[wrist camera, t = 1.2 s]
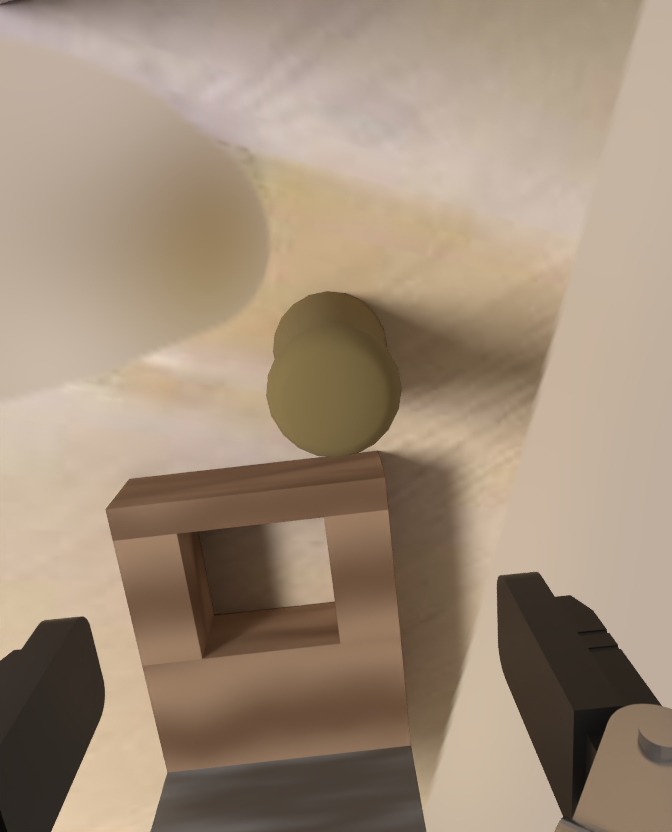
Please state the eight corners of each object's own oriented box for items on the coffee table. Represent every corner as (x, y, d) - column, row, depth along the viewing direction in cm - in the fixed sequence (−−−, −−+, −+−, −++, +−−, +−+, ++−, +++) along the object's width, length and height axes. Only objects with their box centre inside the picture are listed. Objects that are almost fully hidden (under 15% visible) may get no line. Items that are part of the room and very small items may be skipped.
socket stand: (128, 479, 35) (-149, 834, 14) (377, 450, 35) (463, 766, 14) (187, 745, 40) (47, 1290, 19) (404, 721, 40) (495, 1243, 19)
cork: (288, 277, 32) (273, 298, 21) (400, 308, 33) (439, 343, 22) (261, 388, 34) (234, 458, 23) (368, 415, 34) (390, 496, 24)
